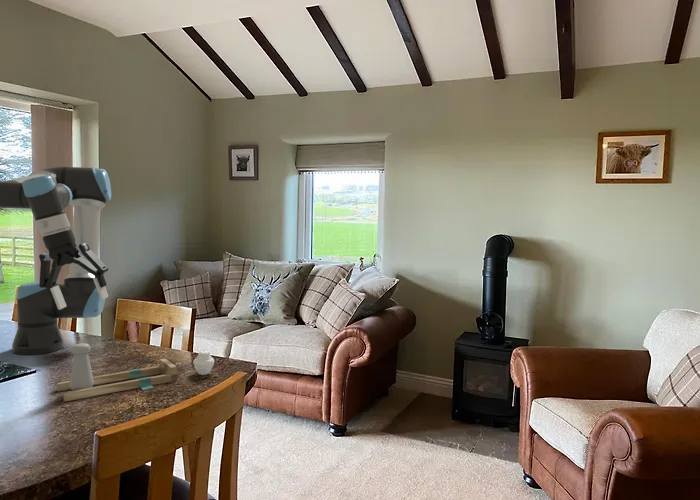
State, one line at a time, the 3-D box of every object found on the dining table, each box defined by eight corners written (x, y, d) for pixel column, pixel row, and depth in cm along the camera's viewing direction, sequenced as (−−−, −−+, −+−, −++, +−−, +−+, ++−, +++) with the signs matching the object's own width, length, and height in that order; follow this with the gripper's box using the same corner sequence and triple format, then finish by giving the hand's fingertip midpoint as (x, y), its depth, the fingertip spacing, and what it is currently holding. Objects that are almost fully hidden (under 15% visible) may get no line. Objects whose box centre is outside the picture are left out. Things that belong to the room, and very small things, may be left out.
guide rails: (55, 386, 142) (54, 372, 142) (161, 368, 160) (161, 355, 160) (66, 405, 129) (66, 389, 129) (180, 383, 148) (180, 369, 147)
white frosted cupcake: (216, 374, 156) (216, 352, 155) (195, 377, 153) (196, 354, 152) (211, 368, 161) (211, 346, 161) (191, 371, 158) (191, 349, 158)
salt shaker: (83, 396, 135) (82, 348, 134) (64, 394, 137) (63, 346, 136) (98, 389, 141) (97, 342, 140) (80, 387, 142) (79, 340, 141)
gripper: (7, 245, 141) (36, 316, 146) (88, 224, 137) (115, 298, 142) (26, 239, 148) (53, 307, 153) (104, 219, 145) (129, 290, 149)
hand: (83, 303), depth 147 cm, fingers open, 13 cm apart
